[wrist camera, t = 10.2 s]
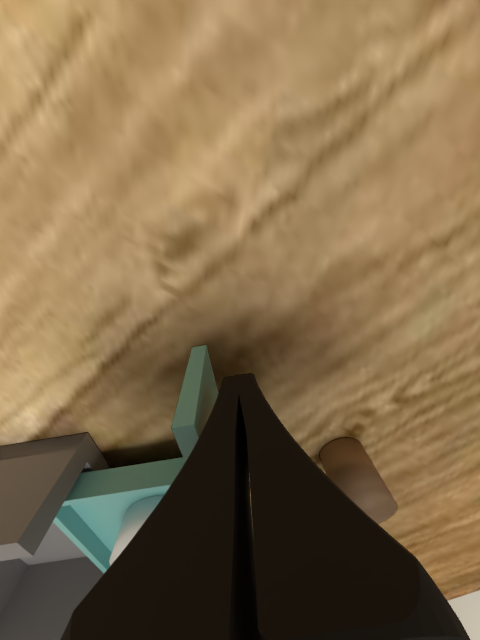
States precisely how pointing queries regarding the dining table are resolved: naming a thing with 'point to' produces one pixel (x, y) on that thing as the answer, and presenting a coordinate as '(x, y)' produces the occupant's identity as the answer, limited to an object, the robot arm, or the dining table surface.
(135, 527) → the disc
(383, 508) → the brown short cylinder
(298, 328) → the dining table surface
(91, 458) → the box
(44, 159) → the dining table surface
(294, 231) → the dining table surface
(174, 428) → the slide tray
